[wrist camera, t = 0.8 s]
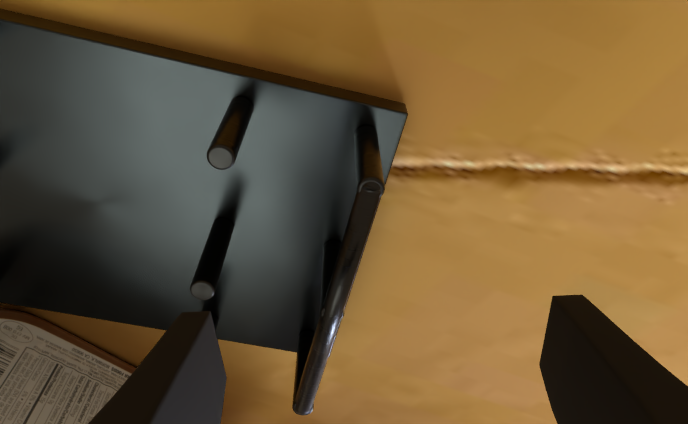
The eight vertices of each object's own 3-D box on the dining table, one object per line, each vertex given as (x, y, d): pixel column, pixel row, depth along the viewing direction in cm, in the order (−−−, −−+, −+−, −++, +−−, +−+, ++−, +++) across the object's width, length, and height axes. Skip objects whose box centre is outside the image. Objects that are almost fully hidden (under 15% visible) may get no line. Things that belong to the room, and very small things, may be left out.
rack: (329, 342, 26) (327, 435, 21) (-138, 261, 23) (-245, 350, 19) (405, 103, 19) (423, 167, 15) (-222, -44, 17) (-410, -16, 13)
